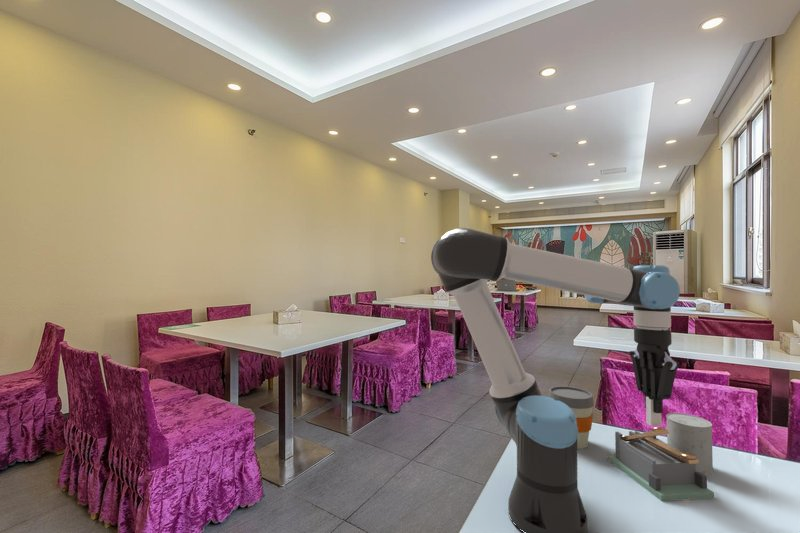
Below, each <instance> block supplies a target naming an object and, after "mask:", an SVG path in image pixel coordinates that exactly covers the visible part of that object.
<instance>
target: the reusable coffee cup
mask: <svg viewBox="0 0 800 533" xmlns="http://www.w3.org/2000/svg"><path fill="white" fill-rule="evenodd" d="M548 397H550V398H553V399H554V400H556V401H561V402H563V403H564V404H566V405H567V406H569V407H570V408H571V409H572V411H573V412H574V414H575V416H576V421H577V427H578V438H577V450H579V449H580V450H583V449H586V448H588V443H589V435H590V432H591V430H592V425H593V424H592V423H593V417H594V413H593V407H594V405H595V402H594V395H593V393H592V392H590V391H588V390H587V389H582V388H579V387H576V386H575V387H574V386H566V385H564V386H563V385H559V386H552V387H550V388H549V390H548Z"/></svg>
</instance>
